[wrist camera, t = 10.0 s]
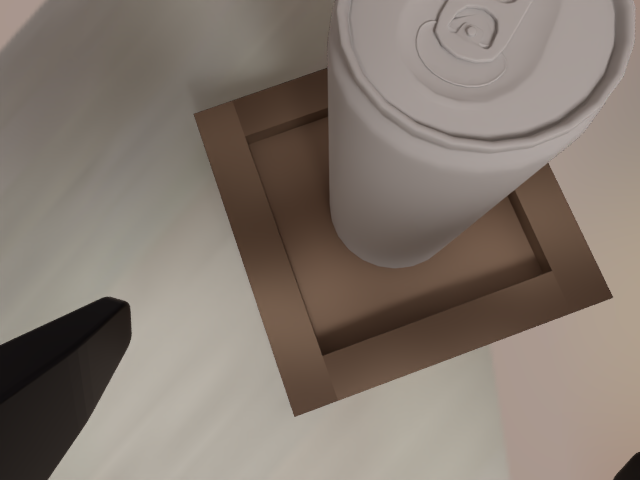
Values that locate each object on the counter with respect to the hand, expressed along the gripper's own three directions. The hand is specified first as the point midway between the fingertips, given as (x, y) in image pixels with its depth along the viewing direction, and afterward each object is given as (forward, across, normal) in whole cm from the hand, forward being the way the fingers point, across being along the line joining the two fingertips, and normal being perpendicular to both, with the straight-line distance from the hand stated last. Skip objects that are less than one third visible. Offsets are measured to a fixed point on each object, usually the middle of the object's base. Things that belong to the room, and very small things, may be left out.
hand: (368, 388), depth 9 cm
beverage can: (+11, 0, +3) cm, 12 cm away
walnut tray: (+12, 0, +3) cm, 13 cm away
